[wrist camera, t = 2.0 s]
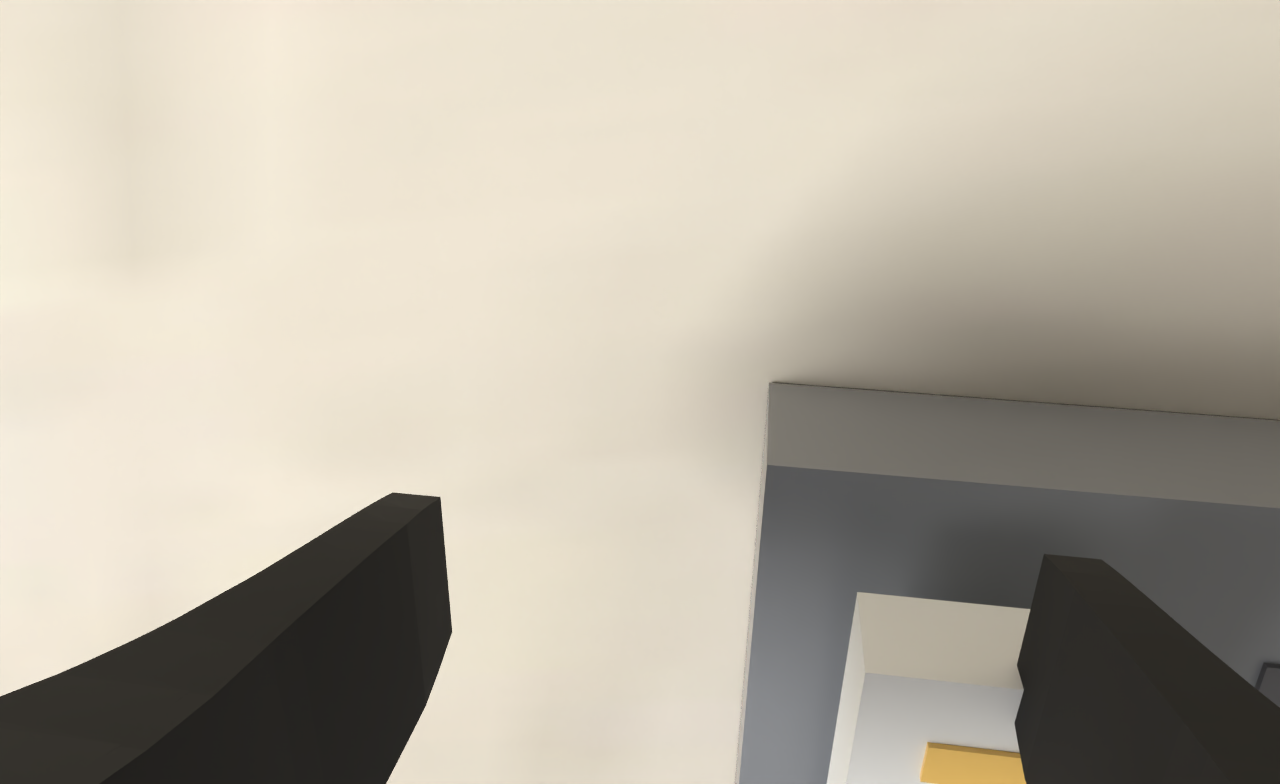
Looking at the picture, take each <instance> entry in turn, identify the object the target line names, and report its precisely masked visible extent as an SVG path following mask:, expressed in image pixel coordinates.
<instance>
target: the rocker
mask: <svg viewBox="0 0 1280 784" xmlns="http://www.w3.org/2000/svg"><path fill="white" fill-rule="evenodd" d="M1029 613H1030V609H1023V608H1013V607H1003V606H993V605H983V604H973V603H963V602H953V601H943V600H933V599H923V598H913V597H903V596H893V595H883V594H873V593H863V592H857V597H856V603H855V610H854V616H853V622H852V628H851V635H850V641H849V647H848V653H847V660H846V666H845V672H844V678H843V685H842V691H841V697H840V704H839V710H838V716H837V722H836V729H835V735H834V741H833V747H832V754H831V760H830V766H829V772H828V779H827V784H1026V781H1025V777H1024V772H1023V767H1022V762H1021V757H1020V752H1019V746H1018V741H1017V735H1016V730H1015V724H1014V723H1015V719H1016V716H1017V712H1018V709H1019V705H1020V702H1021V698H1022V695H1023V691H1024V689H1023V685H1022V682H1021V678H1020V675H1019V671H1018V668H1017V662H1018V658H1019V654H1020V650H1021V646H1022V642H1023V638H1024V634H1025V629H1026V625H1027V621H1028V617H1029Z"/></svg>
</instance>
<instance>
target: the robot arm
mask: <svg viewBox="0 0 1280 784" xmlns="http://www.w3.org/2000/svg"><path fill="white" fill-rule="evenodd" d="M451 633H452V625H451V614H450V602H449V591H448V580H447V568H446V557H445V545H444V534H443V522H442V511H441V499H440V497H434V496H423V495H412V494H402V493H391V494H389V495H387V496H385V497H383V498H381V499H380V500H378V501H376V502H374V503H372V504H371V505H369V506H367V507H366V508H364V509H362V510H361V511H359V512H357V513H356V514H354V515H352V516H351V517H349V518H347V519H346V520H344V521H343V522H341V523H339V524H338V525H336V526H334V527H333V528H331V529H330V530H328V531H326V532H325V533H323V534H322V535H320V536H318V537H317V538H315V539H313V540H312V541H310V542H309V543H307V544H305V545H304V546H302V547H300V548H299V549H297V550H295V551H294V552H292V553H290V554H289V555H287V556H286V557H284V558H282V559H281V560H279V561H277V562H276V563H274V564H272V565H271V566H269V567H267V568H266V569H264V570H263V571H261V572H259V573H257V574H256V575H254V576H252V577H250V578H249V579H247V580H245V581H243V582H241V583H240V584H238V585H236V586H234V587H232V588H231V589H229V590H227V591H225V592H223V593H222V594H220V595H218V596H216V597H214V598H213V599H211V600H209V601H207V602H205V603H204V604H202V605H200V606H198V607H196V608H195V609H193V610H191V611H189V612H187V613H186V614H184V615H182V616H180V617H178V618H177V619H175V620H173V621H171V622H169V623H167V624H165V625H163V626H161V627H159V628H157V629H155V630H153V631H151V632H149V633H147V634H145V635H143V636H141V637H139V638H137V639H135V640H133V641H131V642H128V643H126V644H124V645H122V646H120V647H118V648H115V649H113V650H111V651H109V652H107V653H104V654H102V655H100V656H98V657H96V658H93V659H91V660H89V661H87V662H85V663H83V664H80V665H78V666H76V667H73V668H71V669H69V670H66V671H64V672H62V673H59V674H57V675H54V676H52V677H49V678H47V679H44V680H42V681H39V682H37V683H34V684H31V685H29V686H26V687H24V688H21V689H19V690H16V691H13V692H11V693H8V694H6V695H3V696H1V697H0V784H386V783H387V781H388V779H389V777H390V775H391V773H392V771H393V769H394V767H395V765H396V763H397V761H398V759H399V757H400V755H401V753H402V751H403V750H404V748H405V746H406V744H407V742H408V740H409V738H410V736H411V734H412V732H413V730H414V728H415V726H416V724H417V722H418V720H419V718H420V716H421V714H422V712H423V710H424V708H425V706H426V703H427V701H428V698H429V695H430V693H431V690H432V687H433V685H434V682H435V679H436V677H437V674H438V671H439V668H440V665H441V663H442V660H443V657H444V654H445V651H446V648H447V645H448V642H449V639H450V636H451ZM1017 668H1018V671H1019V675H1020V678H1021V682H1022V685H1023V689H1024V691H1023V695H1022V698H1021V702H1020V705H1019V709H1018V712H1017V716H1016V719H1015V723H1014V724H1015V730H1016V735H1017V741H1018V746H1019V752H1020V757H1021V762H1022V767H1023V772H1024V777H1025V781H1026V784H1280V707H1278V706H1277V705H1276V704H1275V703H1273V702H1272V701H1271V700H1270V699H1268V698H1267V697H1266V696H1265V695H1263V694H1262V693H1261V692H1260V691H1258V690H1257V689H1256V688H1255V687H1253V686H1252V685H1251V684H1250V683H1249V682H1247V681H1246V680H1245V679H1244V678H1242V677H1241V676H1240V675H1239V674H1238V673H1236V672H1235V671H1234V670H1233V669H1232V668H1230V667H1229V666H1228V665H1227V664H1226V663H1224V662H1223V661H1222V660H1221V659H1220V658H1218V657H1217V656H1216V655H1215V654H1214V653H1212V652H1211V651H1210V650H1209V649H1208V648H1207V647H1205V646H1204V645H1203V644H1202V643H1201V642H1199V641H1198V640H1197V639H1196V638H1195V637H1194V636H1192V635H1191V634H1190V633H1189V632H1188V631H1187V630H1185V629H1184V628H1183V627H1182V626H1181V625H1180V624H1179V623H1177V622H1176V621H1175V620H1174V619H1173V618H1172V617H1170V616H1169V615H1168V614H1167V613H1166V612H1165V611H1163V610H1162V609H1161V608H1160V607H1159V606H1158V605H1156V604H1155V603H1154V602H1153V601H1152V600H1151V599H1149V598H1148V597H1147V596H1146V595H1145V594H1144V593H1142V592H1141V591H1140V590H1139V589H1138V588H1137V587H1135V586H1134V585H1133V584H1132V583H1131V582H1129V581H1128V580H1127V579H1126V578H1125V577H1123V576H1122V575H1121V574H1120V573H1119V572H1117V571H1116V570H1115V569H1114V568H1112V567H1111V566H1110V565H1108V564H1107V563H1106V562H1104V561H1103V560H1102V559H1093V558H1082V557H1072V556H1061V555H1050V554H1044V556H1043V560H1042V564H1041V568H1040V572H1039V576H1038V580H1037V584H1036V589H1035V593H1034V597H1033V601H1032V605H1031V609H1030V613H1029V617H1028V621H1027V625H1026V629H1025V634H1024V638H1023V642H1022V646H1021V650H1020V654H1019V658H1018V662H1017Z"/></svg>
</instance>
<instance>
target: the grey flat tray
mask: <svg viewBox="0 0 1280 784" xmlns="http://www.w3.org/2000/svg"><path fill="white" fill-rule="evenodd" d="M1044 554H1050V555H1061V556H1072V557H1082V558H1093V559H1102V560H1103V561H1104V562H1106V563H1107V564H1108V565H1110V566H1111V567H1112V568H1114V569H1115V570H1116V571H1117V572H1119V573H1120V574H1121V575H1122V576H1123V577H1125V578H1126V579H1127V580H1128V581H1129V582H1131V583H1132V584H1133V585H1134V586H1135V587H1137V588H1138V589H1139V590H1140V591H1141V592H1142V593H1144V594H1145V595H1146V596H1147V597H1148V598H1149V599H1151V600H1152V601H1153V602H1154V603H1155V604H1156V605H1158V606H1159V607H1160V608H1161V609H1162V610H1163V611H1165V612H1166V613H1167V614H1168V615H1169V616H1170V617H1172V618H1173V619H1174V620H1175V621H1176V622H1177V623H1179V624H1180V625H1181V626H1182V627H1183V628H1184V629H1185V630H1187V631H1188V632H1189V633H1190V634H1191V635H1192V636H1194V637H1195V638H1196V639H1197V640H1198V641H1199V642H1201V643H1202V644H1203V645H1204V646H1205V647H1207V648H1208V649H1209V650H1210V651H1211V652H1212V653H1214V654H1215V655H1216V656H1217V657H1218V658H1220V659H1221V660H1222V661H1223V662H1224V663H1226V664H1227V665H1228V666H1229V667H1230V668H1232V669H1233V670H1234V671H1235V672H1236V673H1238V674H1239V675H1240V676H1241V677H1242V678H1244V679H1245V680H1246V681H1247V682H1249V683H1250V684H1251V685H1252V686H1253V687H1255V688H1256V689H1257V690H1258V691H1260V692H1261V693H1262V694H1263V695H1265V696H1266V697H1267V698H1268V699H1270V700H1271V701H1272V702H1273V703H1275V704H1276V705H1277V706H1278V707H1280V421H1279V420H1266V419H1252V418H1239V417H1225V416H1212V415H1199V414H1185V413H1172V412H1158V411H1145V410H1131V409H1118V408H1104V407H1091V406H1078V405H1064V404H1051V403H1037V402H1024V401H1010V400H997V399H983V398H970V397H956V396H943V395H930V394H916V393H903V392H889V391H876V390H862V389H849V388H835V387H822V386H809V385H795V384H782V383H769V390H768V402H767V414H766V425H765V437H764V449H763V460H762V472H761V484H760V495H759V507H758V519H757V530H756V542H755V554H754V565H753V577H752V589H751V600H750V612H749V624H748V636H747V647H746V659H745V671H744V682H743V694H742V706H741V717H740V729H739V741H738V752H737V764H736V776H735V784H827V779H828V772H829V766H830V760H831V754H832V747H833V741H834V735H835V729H836V722H837V716H838V710H839V704H840V697H841V691H842V685H843V678H844V672H845V666H846V660H847V653H848V647H849V641H850V635H851V628H852V622H853V616H854V610H855V603H856V597H857V592H863V593H873V594H883V595H893V596H903V597H913V598H923V599H933V600H943V601H953V602H963V603H973V604H983V605H993V606H1003V607H1013V608H1023V609H1031V605H1032V601H1033V597H1034V593H1035V589H1036V584H1037V580H1038V576H1039V572H1040V568H1041V564H1042V560H1043V556H1044Z"/></svg>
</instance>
